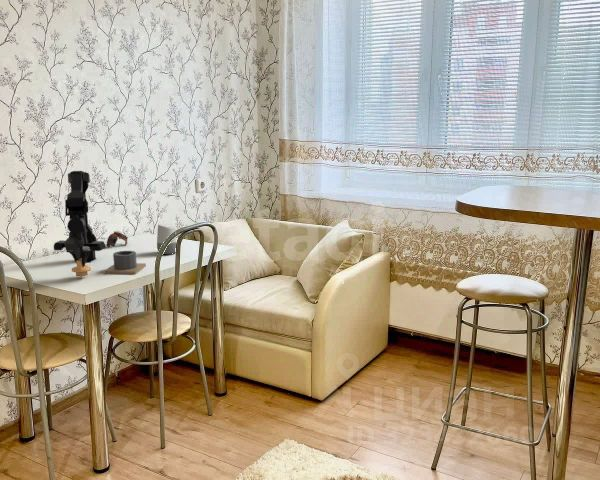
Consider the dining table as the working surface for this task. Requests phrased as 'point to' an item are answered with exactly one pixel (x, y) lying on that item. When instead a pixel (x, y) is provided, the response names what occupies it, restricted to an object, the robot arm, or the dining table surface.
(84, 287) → the dining table surface
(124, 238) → the brown curved piece
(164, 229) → the smart speaker
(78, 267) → the orange cap
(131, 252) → the tube on square plate
